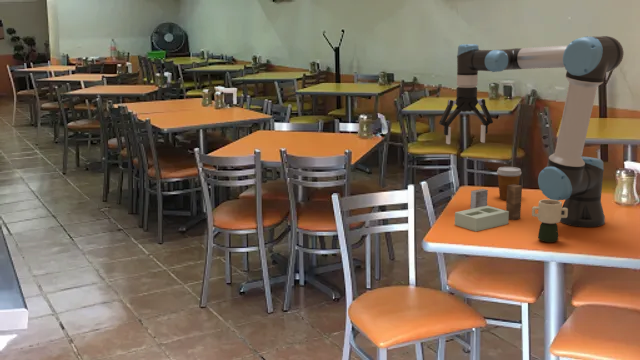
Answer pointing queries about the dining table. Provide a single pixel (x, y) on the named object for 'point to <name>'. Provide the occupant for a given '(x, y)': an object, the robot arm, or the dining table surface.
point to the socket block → (481, 218)
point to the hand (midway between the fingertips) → (465, 143)
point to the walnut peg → (514, 201)
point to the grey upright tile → (479, 198)
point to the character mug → (549, 218)
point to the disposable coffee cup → (507, 179)
